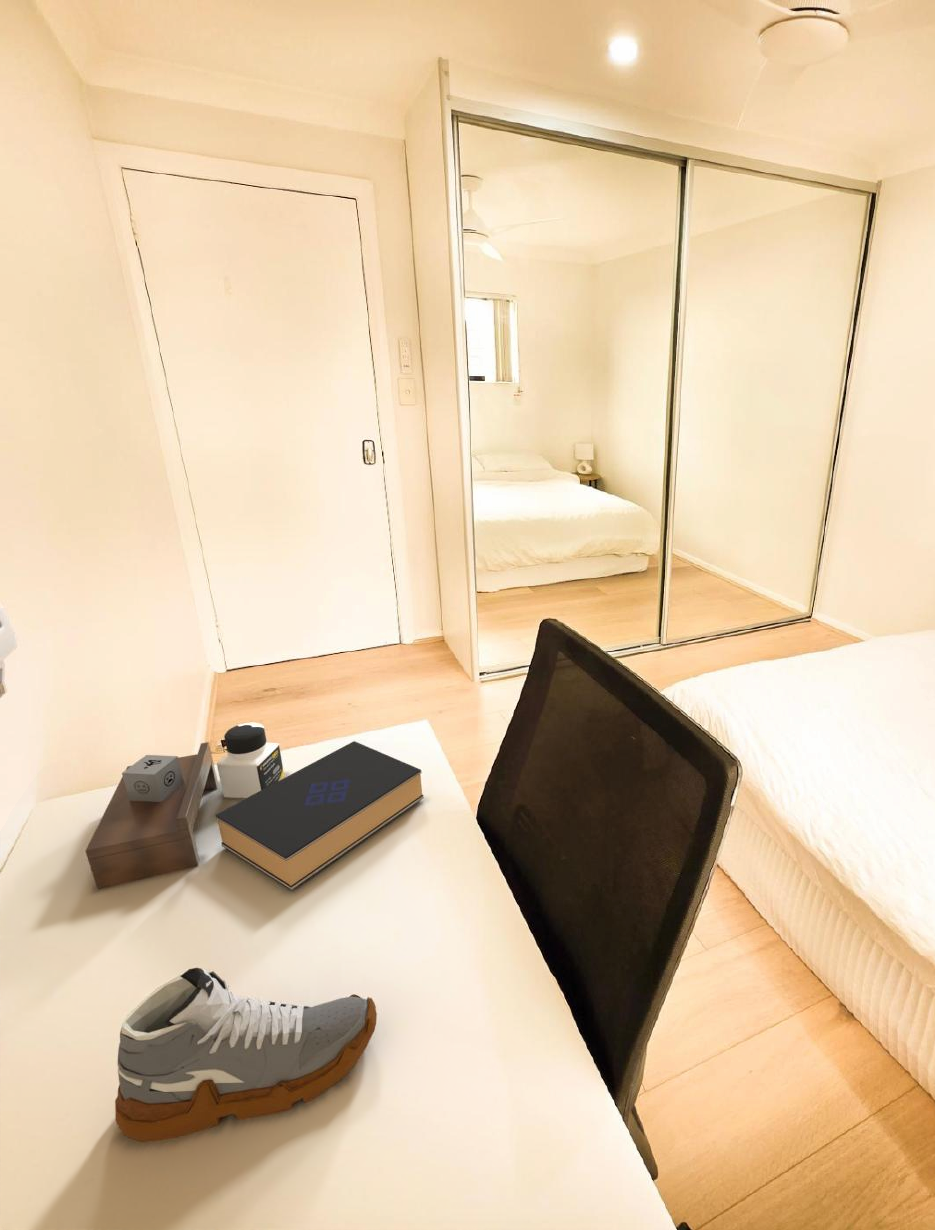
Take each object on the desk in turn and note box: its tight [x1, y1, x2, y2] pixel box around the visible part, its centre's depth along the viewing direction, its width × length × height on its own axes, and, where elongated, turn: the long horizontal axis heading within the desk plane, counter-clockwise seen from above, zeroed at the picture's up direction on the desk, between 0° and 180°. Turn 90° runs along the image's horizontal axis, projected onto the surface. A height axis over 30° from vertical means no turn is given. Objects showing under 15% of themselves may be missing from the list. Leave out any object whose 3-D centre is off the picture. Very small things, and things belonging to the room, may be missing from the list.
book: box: [214, 740, 425, 891], centre depth 99 cm, size 17×25×7 cm
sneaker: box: [114, 967, 378, 1143], centre depth 61 cm, size 9×24×15 cm, turn 107°
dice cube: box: [121, 754, 184, 802], centre depth 95 cm, size 5×5×5 cm
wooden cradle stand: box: [84, 741, 219, 891], centre depth 96 cm, size 12×22×9 cm, turn 25°
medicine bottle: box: [216, 722, 285, 799], centre depth 107 cm, size 7×7×12 cm
